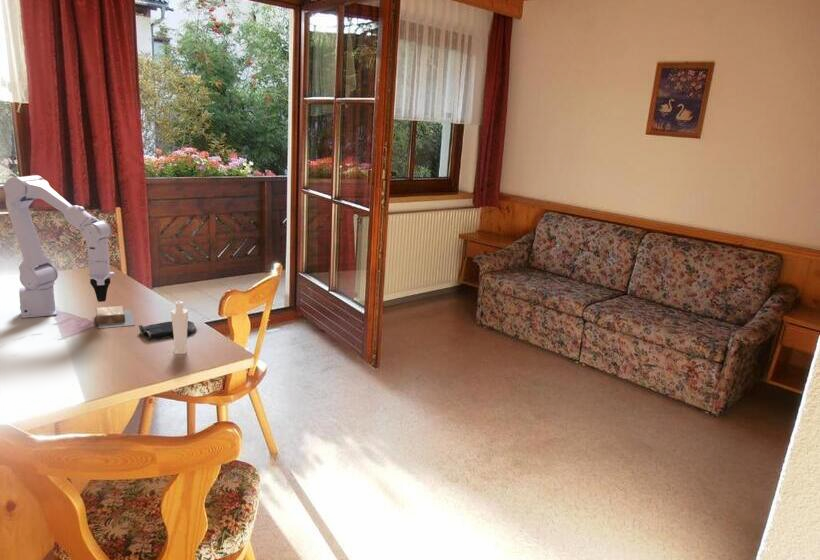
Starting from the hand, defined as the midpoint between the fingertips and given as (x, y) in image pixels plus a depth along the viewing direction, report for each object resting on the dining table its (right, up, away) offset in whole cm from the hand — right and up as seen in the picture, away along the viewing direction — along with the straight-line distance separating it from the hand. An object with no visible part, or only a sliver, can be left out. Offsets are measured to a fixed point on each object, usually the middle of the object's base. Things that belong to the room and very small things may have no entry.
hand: (101, 301), depth 182 cm
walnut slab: (-2, -5, 0) cm, 5 cm away
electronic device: (+24, -10, -4) cm, 26 cm away
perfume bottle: (+32, -14, -17) cm, 40 cm away
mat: (+3, -6, +3) cm, 7 cm away
